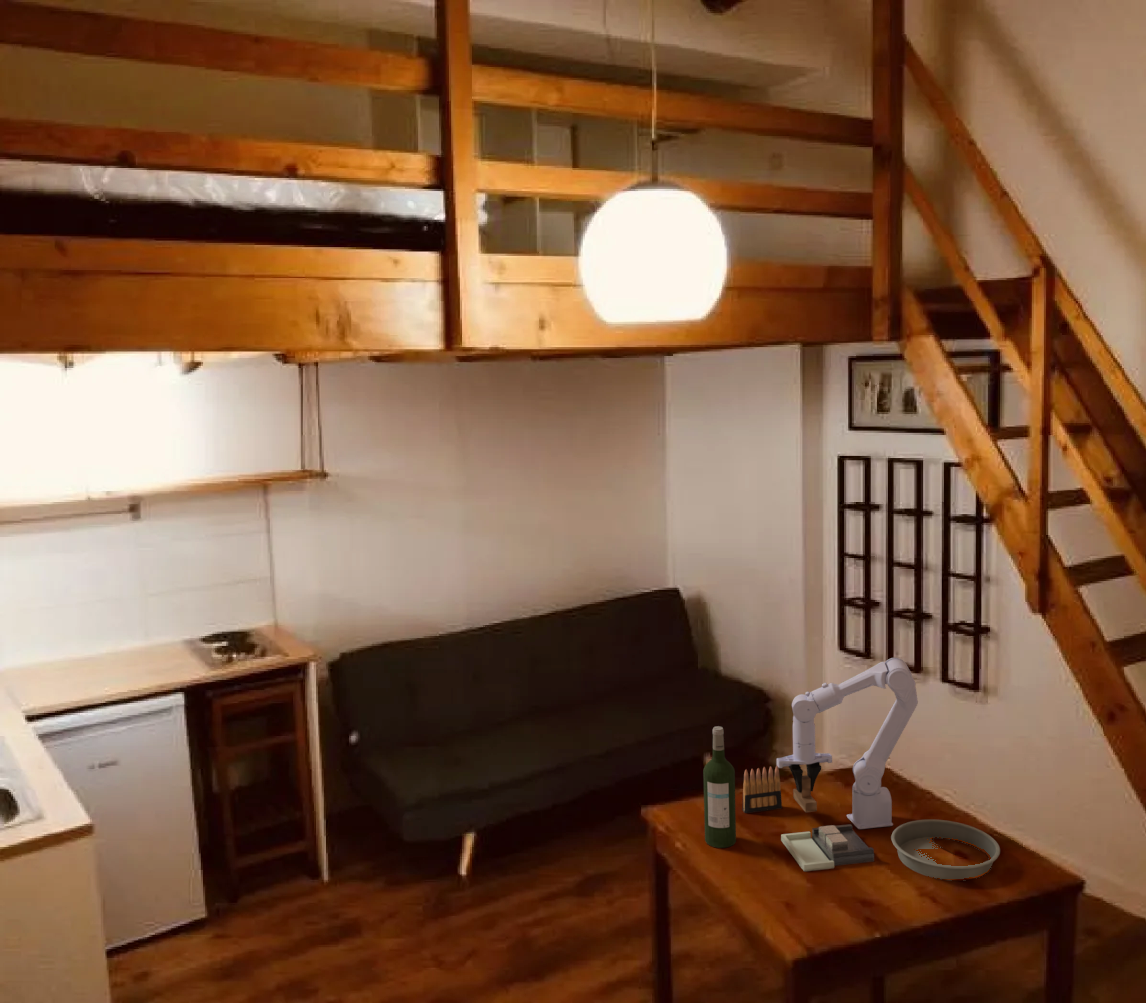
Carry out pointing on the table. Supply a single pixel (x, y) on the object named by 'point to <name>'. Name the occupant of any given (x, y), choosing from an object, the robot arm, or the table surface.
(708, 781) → the wine bottle
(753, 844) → the table surface
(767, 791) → the ammunition clip
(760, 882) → the table surface
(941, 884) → the table surface
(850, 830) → the slot plate
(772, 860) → the table surface
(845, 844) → the chip
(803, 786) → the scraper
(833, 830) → the chip
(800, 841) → the tray
